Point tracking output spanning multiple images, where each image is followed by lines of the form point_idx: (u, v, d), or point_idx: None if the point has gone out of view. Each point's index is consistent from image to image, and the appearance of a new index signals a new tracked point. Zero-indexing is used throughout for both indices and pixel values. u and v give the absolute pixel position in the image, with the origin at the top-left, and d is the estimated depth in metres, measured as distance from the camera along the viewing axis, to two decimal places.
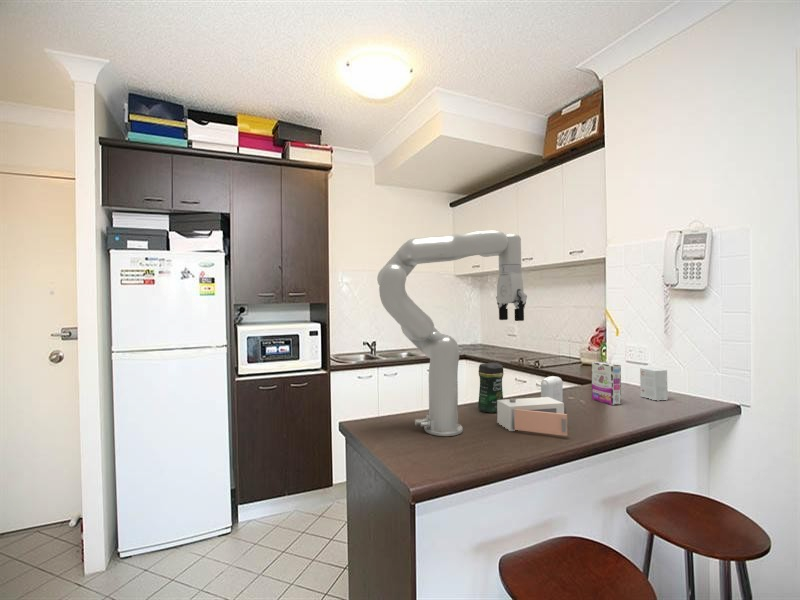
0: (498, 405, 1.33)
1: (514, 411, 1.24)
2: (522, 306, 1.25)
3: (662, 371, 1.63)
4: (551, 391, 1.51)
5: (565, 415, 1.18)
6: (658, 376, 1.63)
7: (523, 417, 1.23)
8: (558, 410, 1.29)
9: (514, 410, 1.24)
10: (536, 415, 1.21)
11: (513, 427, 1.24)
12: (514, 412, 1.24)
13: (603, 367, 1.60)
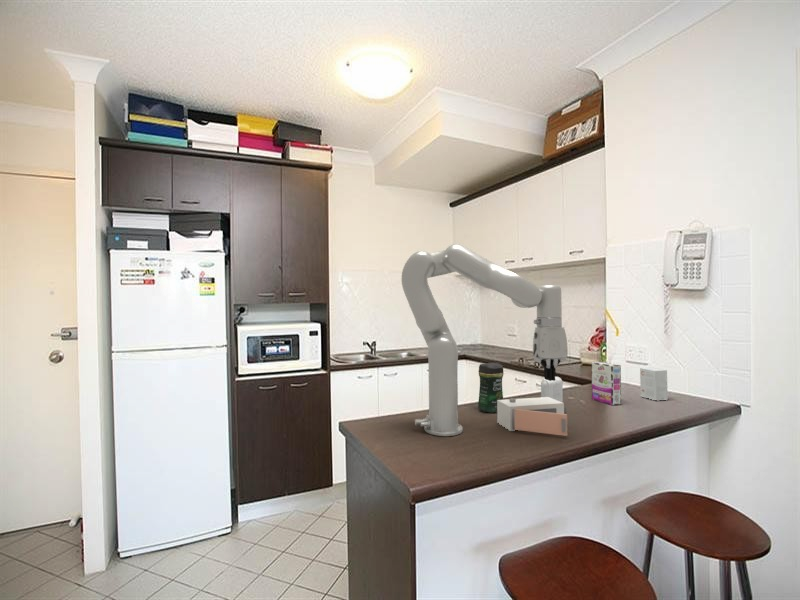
0: (498, 405, 1.33)
1: (514, 411, 1.24)
2: None
3: (662, 371, 1.63)
4: (551, 391, 1.51)
5: (565, 415, 1.18)
6: (658, 376, 1.63)
7: (523, 417, 1.23)
8: (558, 410, 1.29)
9: (514, 410, 1.24)
10: (536, 415, 1.21)
11: (513, 427, 1.24)
12: (514, 412, 1.24)
13: (603, 367, 1.60)
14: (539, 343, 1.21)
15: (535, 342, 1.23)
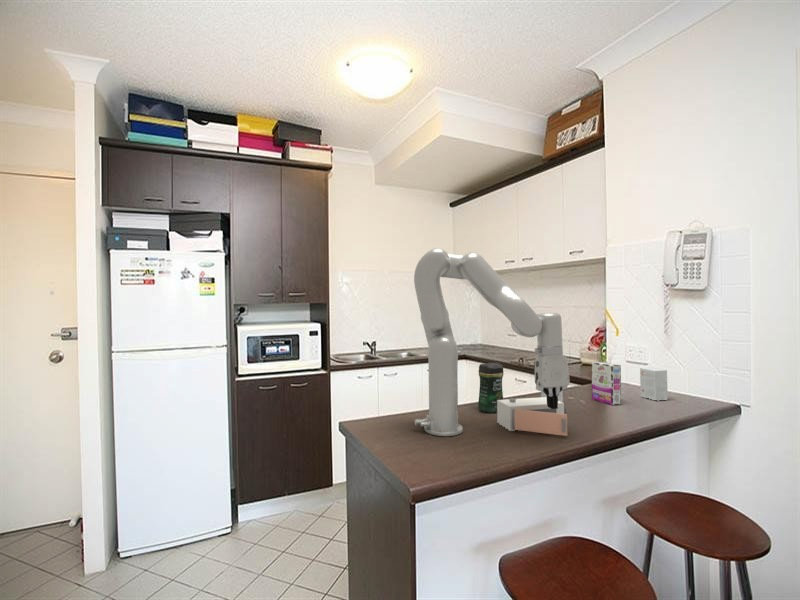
0: (498, 405, 1.33)
1: (514, 411, 1.24)
2: None
3: (662, 371, 1.63)
4: None
5: (565, 415, 1.18)
6: (658, 376, 1.63)
7: (523, 417, 1.23)
8: (558, 410, 1.29)
9: (514, 410, 1.24)
10: (536, 415, 1.21)
11: (513, 427, 1.24)
12: (514, 412, 1.24)
13: (603, 367, 1.60)
14: (541, 372, 1.20)
15: (537, 371, 1.22)
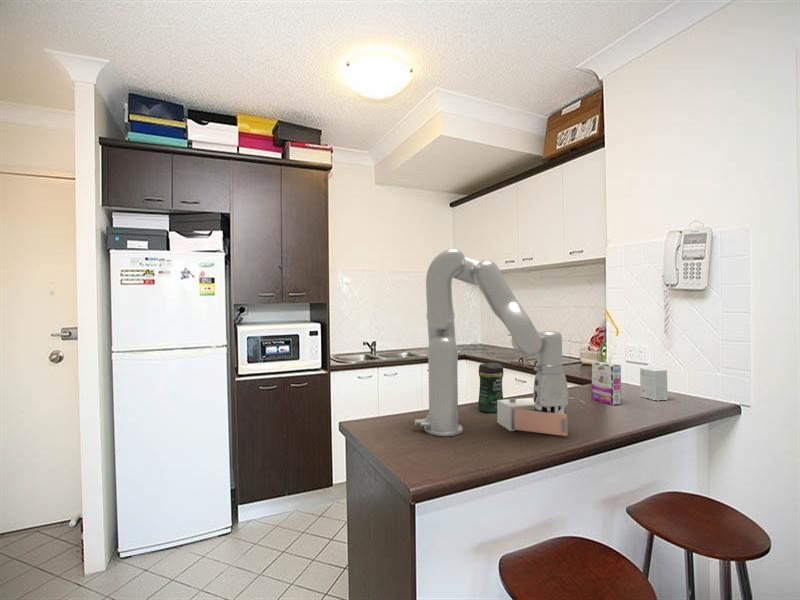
0: (498, 405, 1.33)
1: (514, 411, 1.24)
2: None
3: (662, 371, 1.63)
4: None
5: (565, 415, 1.18)
6: (658, 376, 1.63)
7: (523, 417, 1.23)
8: None
9: (514, 410, 1.24)
10: (536, 415, 1.21)
11: (513, 427, 1.24)
12: (514, 412, 1.24)
13: (603, 367, 1.60)
14: (540, 391, 1.20)
15: (536, 389, 1.22)
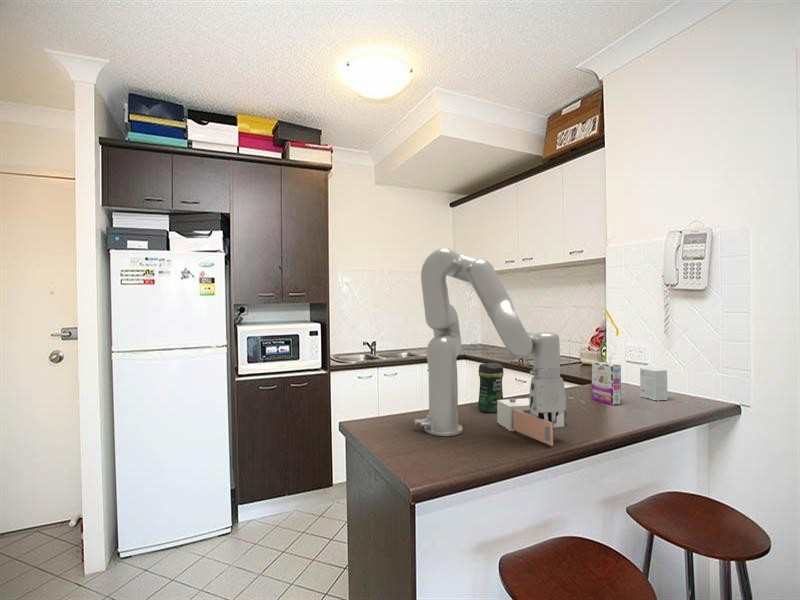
0: (498, 405, 1.33)
1: (513, 411, 1.24)
2: None
3: (662, 371, 1.63)
4: None
5: (549, 423, 1.10)
6: (658, 376, 1.63)
7: (519, 418, 1.22)
8: None
9: (513, 410, 1.24)
10: (528, 418, 1.18)
11: (512, 427, 1.24)
12: (513, 412, 1.24)
13: (603, 367, 1.60)
14: (536, 396, 1.13)
15: (532, 394, 1.15)
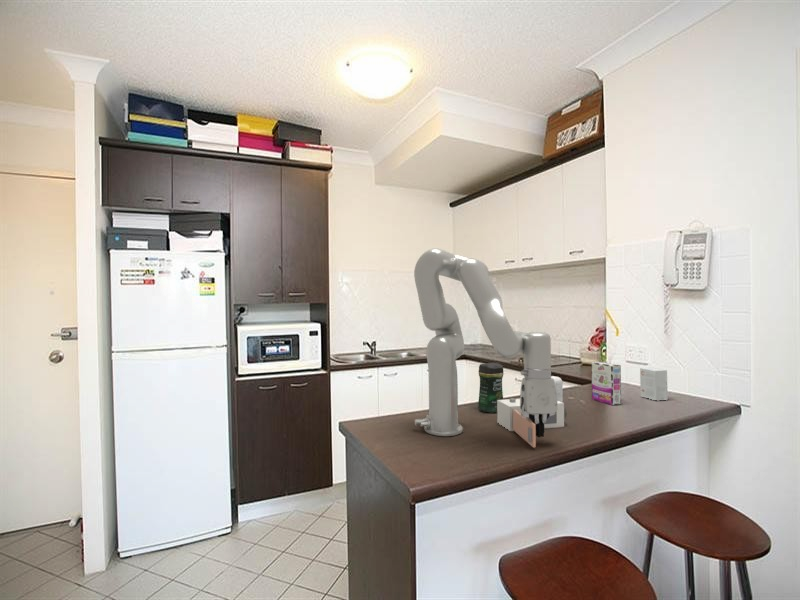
0: (498, 405, 1.33)
1: (512, 411, 1.24)
2: None
3: (662, 371, 1.63)
4: None
5: (532, 424, 1.09)
6: (658, 376, 1.63)
7: (516, 419, 1.21)
8: (558, 410, 1.29)
9: (512, 410, 1.24)
10: (520, 419, 1.18)
11: (512, 427, 1.25)
12: (512, 412, 1.24)
13: (603, 367, 1.60)
14: (526, 397, 1.11)
15: (522, 395, 1.13)
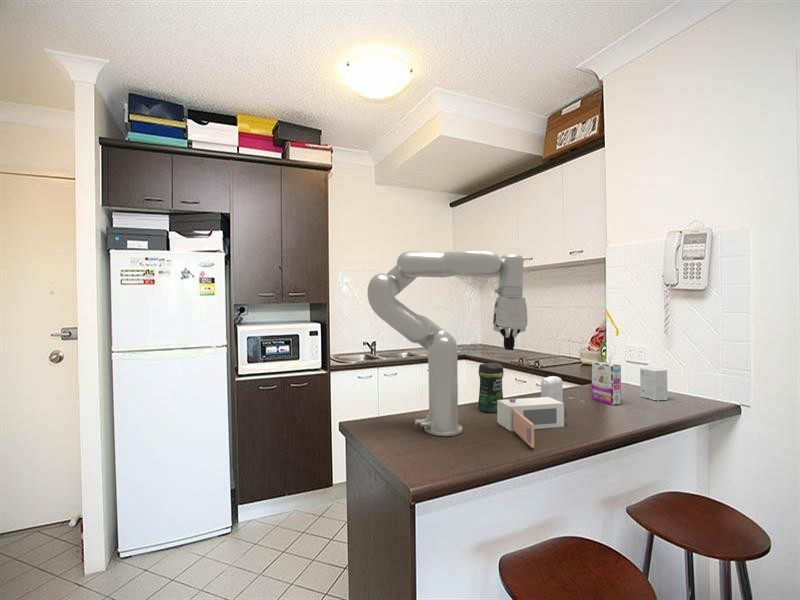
0: (498, 405, 1.33)
1: (512, 411, 1.24)
2: None
3: (662, 371, 1.63)
4: (551, 391, 1.51)
5: (530, 424, 1.09)
6: (658, 376, 1.63)
7: (515, 419, 1.21)
8: (558, 410, 1.29)
9: (512, 410, 1.24)
10: (520, 419, 1.18)
11: (512, 427, 1.25)
12: (512, 412, 1.24)
13: (603, 367, 1.60)
14: (498, 312, 1.21)
15: (495, 311, 1.23)
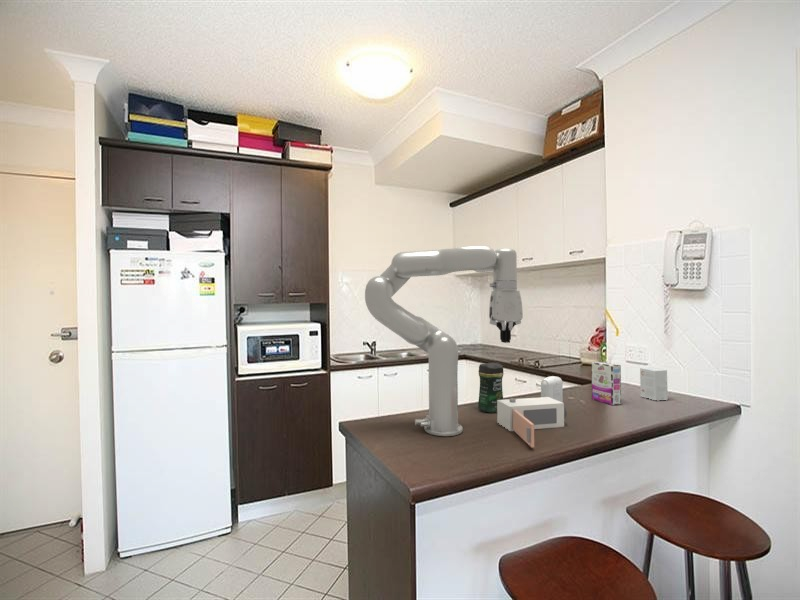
0: (498, 405, 1.33)
1: (512, 411, 1.24)
2: None
3: (662, 371, 1.63)
4: (551, 391, 1.51)
5: (530, 424, 1.09)
6: (658, 376, 1.63)
7: (515, 419, 1.21)
8: (558, 410, 1.29)
9: (512, 410, 1.24)
10: (520, 419, 1.18)
11: (512, 427, 1.25)
12: (512, 412, 1.24)
13: (603, 367, 1.60)
14: (494, 305, 1.23)
15: (491, 305, 1.25)
